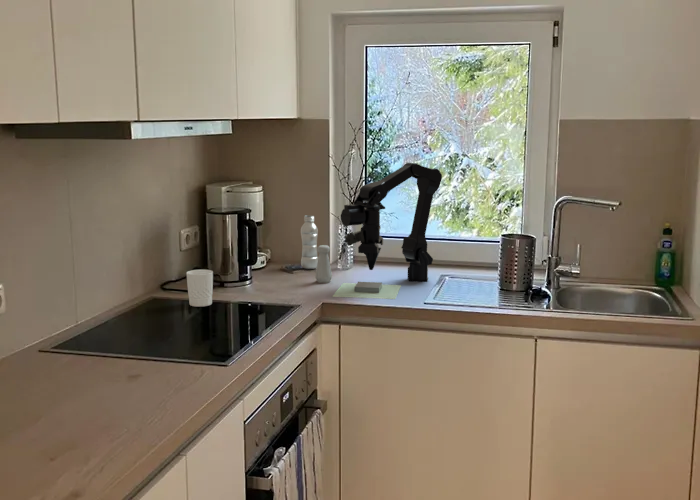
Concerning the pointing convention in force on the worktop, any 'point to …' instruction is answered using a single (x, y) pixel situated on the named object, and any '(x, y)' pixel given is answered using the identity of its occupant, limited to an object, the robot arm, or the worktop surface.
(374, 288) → the slate tile
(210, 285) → the white cup
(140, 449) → the worktop surface
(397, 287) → the trivet mat
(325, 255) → the salt shaker
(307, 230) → the plastic bottle
